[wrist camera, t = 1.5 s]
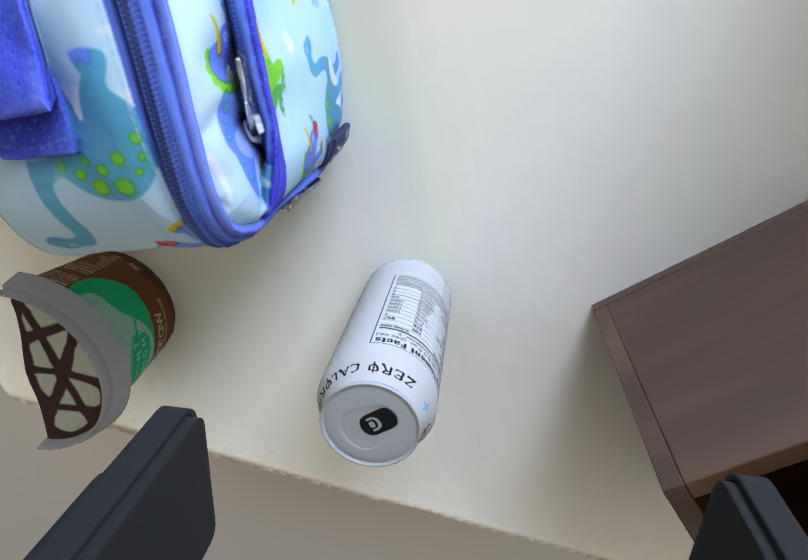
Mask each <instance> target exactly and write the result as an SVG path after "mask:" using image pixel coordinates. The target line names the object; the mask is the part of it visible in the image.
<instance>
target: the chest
mask: <svg viewBox="0 0 808 560" xmlns="http://www.w3.org/2000/svg"><path fill="white" fill-rule="evenodd" d="M592 308H593V310H594V313H595V315H596V318H597V321H598V323H599V326H600V329H601V331H602V334H603V336H604V339H605V342H606V344H607V347H608V349H609V352H610V355H611V357H612V360H613V362H614V365H615V368H616V370H617V373H618V376H619V378H620V381H621V383H622V386H623V389H624V391H625V394H626V396H627V399H628V402H629V404H630V407H631V410H632V412H633V415H634V417H635V420H636V423H637V425H638V428H639V430H640V433H641V436H642V438H643V441H644V444H645V446H646V449H647V451H648V454H649V457H650V459H651V462H652V464H653V467H654V470H655V472H656V475H657V478H658V480H659V483H660V485H661V488H662V491H663V493H664V494H665V496H666V498H667V499H668V501H669V502H670V504H671V506H672V507H673V509H674V510H675V512H676V514H677V515H678V517H679V518H680V520H681V522H682V523H683V525H684V526H685V528H686V530H687V531H688V533H689V534H690V536H691V538H692V539H693V541H694V542H695V540H696V537H697V534H698V531H699V528H700V525H701V522H702V519H703V516H704V513H705V511H706V508H707V505H708V502H709V499H710V496H711V493H712V490H713V487H714V485H715V483H716V482H717V481H724V480H725V478H726V476H728V475H729V474H740V475H749V476H757V477H765V478H767V479H769V480H770V481H771V482H772V483H773V485H774V486H775V488H776V489H777V491H778V492H779V494H780V496H781V497H782V499H783V500H784V502H785V503H786V505H787V506H788V508H789V509H790V511H791V512H792V514H793V516H794V517H795V519H796V520H797V522H798V523H799V525H800V526H801V528H802V529H803V531H804V532H805V534H806V535H807V537H808V200H807V201H805V202H803V203H801V204H799V205H797V206H795V207H793V208H791V209H789V210H787V211H785V212H783V213H781V214H779V215H777V216H775V217H773V218H771V219H768V220H766V221H764V222H762V223H760V224H758V225H756V226H754V227H752V228H750V229H748V230H746V231H744V232H742V233H740V234H738V235H736V236H734V237H732V238H729V239H727V240H725V241H723V242H721V243H719V244H717V245H715V246H713V247H711V248H709V249H707V250H705V251H703V252H701V253H699V254H697V255H695V256H693V257H690V258H688V259H686V260H684V261H682V262H680V263H678V264H676V265H674V266H672V267H670V268H668V269H666V270H664V271H662V272H660V273H658V274H656V275H654V276H651V277H649V278H647V279H645V280H643V281H641V282H639V283H637V284H635V285H633V286H631V287H629V288H627V289H625V290H623V291H621V292H619V293H617V294H614V295H612V296H610V297H608V298H606V299H604V300H602V301H600V302H598V303H596V304H594V305H592Z"/></svg>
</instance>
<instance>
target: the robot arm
mask: <svg viewBox="0 0 808 560" xmlns="http://www.w3.org/2000/svg"><path fill="white" fill-rule="evenodd" d="M214 531H215V514H214V505H213V496H212V487H211V478H210V469H209V460H208V451H207V442H206V433H205V424H204V420H203V419H202V418H198V417H197V415H196V412H195V411H194V410H193V409H189V408H181V407H172V406H162V407H160V408H159V409H158V410H157V411H156V412H155V413H154V414H153V416H152V417H151V418H150V419H149V420H148V421H147V422H146V424H145V425H144V426H143V427H142V428H141V429H140V431H139V432H138V433H137V434H136V435H135V436H134V437H133V439H132V440H131V441H130V442H129V443H128V444H127V446H126V447H125V448H124V449H123V450H122V451H121V453H120V454H119V455H118V456H117V457H116V458H115V459H114V461H113V462H112V463H111V464H110V465H109V466H108V468H107V469H106V470H105V471H104V472H103V473H101V474H99V475H98V476H97V477H96V478H95V479H93V480H92V482H91V483H90V484H89V485H88V486H87V487H86V488H85V490H84V491H83V492H82V493H81V494H80V495H79V496H78V497H77V499H76V500H75V501H74V502H73V503H72V504H71V506H70V507H69V508H68V509H67V510H66V511H65V512H64V514H63V515H62V516H61V517H60V518H59V519H58V520H57V522H56V523H55V524H54V525H53V526H52V527H51V528H50V530H49V531H48V532H47V533H46V534H45V535H44V536H43V538H42V539H41V540H40V541H39V542H38V543H37V544H36V546H35V547H34V548H33V549H32V550H31V551H30V552H29V554H28V555H27V556H26V557H25V558H24V559H23V560H202V559H203V557H204V555H205V553H206V551H207V549H208V547H209V545H210V544H211V541H212V539H213V536H214ZM689 560H808V537H807V535H806V534H805V532H804V531H803V529H802V528H801V526H800V525H799V523H798V522H797V520H796V519H795V517H794V516H793V514H792V512H791V511H790V509H789V508H788V506H787V505H786V503H785V502H784V500H783V499H782V497H781V496H780V494H779V492H778V491H777V489H776V488H775V486H774V485H773V483H772V482H771V481H770V480H769V479H767V478H765V477H757V476H749V475H740V474H729V475H728V476H726V478H725V480H724V481H717V482H716V483H715V485H714V487H713V490H712V493H711V496H710V499H709V502H708V505H707V508H706V511H705V513H704V516H703V519H702V522H701V525H700V528H699V531H698V534H697V537H696V540H695V543H694V546H693V548H692V551H691V554H690V557H689Z"/></svg>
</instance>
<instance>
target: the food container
mask: <svg viewBox="0 0 808 560" xmlns="http://www.w3.org/2000/svg"><path fill="white" fill-rule="evenodd" d="M2 286H3V289H2V290H0V296H3V297H8V298H11V303H12V305H13V307H14V310H15V313H16V316H17V320H18V324H19V329H20V333H21V340H22V349H23V358H24V364H25V370H26V374H27V376H28V379H29V382H30V384H31V386H32V388H33V391H34V393H35V395H36V397H37V400H38V402H39V405H40V408H41V412H42V415H43V419H44V423H45V426H46V431H47V435H48V437H47V438H46V439H45V440H44V441H43V442H42V444H41V445H40V446H39V447H38V449H45V450H46V449H47V450H52V449H62V448H66V447H70V446H72V445H75V444H77V443H81V442H83V441H85V440H87V439H89V438H91V437H93V436H94V435H96V434H97V433H99V432H100V431H102V430H103V429H105V428H107V427H108V426H109V425H111V424H112V423H113V422H115V421H116V420H117V418H118V417H119V416H120V415H121V414H122V412H123V411H124V409H125V407H126V405H127V403H128V399H129V396H130V391H131V386H132V385H133V384H134V382H135V381H136V380H137V379H138V378H139V376H140V375H141V374H142V373H143V371H144V370H145V369H146V368H147V366H148V365H149V364H150V363H151V362H152V360H153V359H154V358H155V357H156V355H157V354H158V353H159V352H160V351H161V349H162V348H163V347H164V346H165V344H166V343H167V341H168V339H169V338H170V336H171V334H172V333H173V329H174V323H175V311H174V306H173V302H172V300H171V297H170V295H169V293H168V291H167V289H166V288H165V286H164V284H163V283H162V282H161V281H160V279H159V278H158V277H157V276H156V275H155V274H154V273H153V272H152V271H151V270H150V269H149V268H148V267H146V266H145V265H144V264H142V263H141V262H139V261H138V260H136V259H134V258H132V257H130V256H128V255H126V254H123V253H120V252H117V251H107V252H101V253H94V254H90V255H87V256H85V257H82V258H80V259H77V260H75V261H72V262H70V263H67V264H65V265H62V266H60V267H57V268H55V269H52V270H49V271H47V272H44V273H42V274H39V275H34V274H29V273H23V272H18V273H17V274H15V275H14V276H13V277H12V278H10V279H9V280H8V281H7V282H5V283H4V284H3V285H2Z"/></svg>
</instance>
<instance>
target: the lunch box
mask: <svg viewBox="0 0 808 560" xmlns="http://www.w3.org/2000/svg"><path fill="white" fill-rule="evenodd" d="M341 110H342V67H341V58H340V51H339V46H338V40H337V35H336V31H335V26H334V22H333V18H332V14H331V10H330V7H329V3H328V0H0V216H1V217H2V218H3V219H4V220H5V222H6V223H7V224H8V225H9V226H10V227H11V228H12V229H13V230H14V231H15V232H16V233H17V234H18V235H19V236H20V237H21V238H23V239H24V240H25V241H26V242H28V243H29V244H31V245H33V246H35V247H36V248H38V249H40V250H42V251H45V252H48V253H51V254H55V255H61V256H73V255H86V254H94V253H101V252H107V251H133V250H144V249H157V248H185V247H202V246H207V245H209V246H211V247H218V248H220V247H230V246H233V245H236V244H238V243H240V242H242V241H244V240H246V239H248V238H250V237H253V236H254V235H255V234H256V233H257V232H258V231H259V230H260V229H261V228H262V227H264V226H265V225H266V224H267V223H268V222H269V220H270V219H271V218H272V217H273V216H274V214H275V213H276V212H277V211H279V210H280V209H285V208H286V209H287V210H288V211H290V210H291V208H292V207H293V205H294V201H298V200H299V199H300V195H302V194H305V193H307V192H309V191H310V190H311V189H313V188H314V187H315V186H316V185H317V184H318V183H319V182H320V181H321V179H320V178H319V177H318V176H319V175H320V174H321V172H322V171H323V170H324V168H325V167H326V165H327V164H328V163H329V162H331V160H332V159H333V158H334V157H335V156H336V155H337V153H338V152H339V151H340V150H341V148H342V147H343V145H344V144H345V142H346V141H347V139H348V135H349V128H350V123H344V124H343V125H342V127H341V128H340V125H341Z"/></svg>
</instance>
